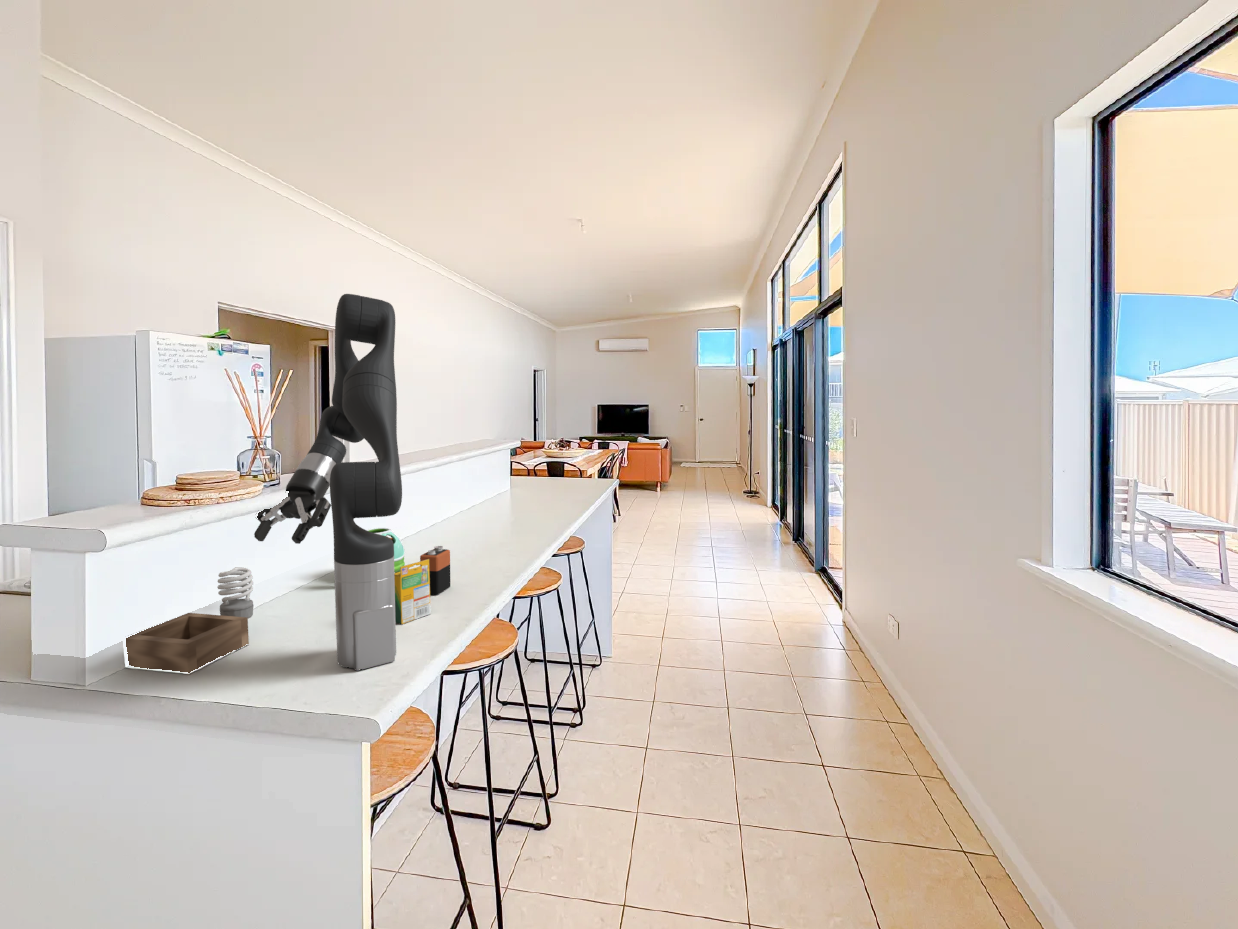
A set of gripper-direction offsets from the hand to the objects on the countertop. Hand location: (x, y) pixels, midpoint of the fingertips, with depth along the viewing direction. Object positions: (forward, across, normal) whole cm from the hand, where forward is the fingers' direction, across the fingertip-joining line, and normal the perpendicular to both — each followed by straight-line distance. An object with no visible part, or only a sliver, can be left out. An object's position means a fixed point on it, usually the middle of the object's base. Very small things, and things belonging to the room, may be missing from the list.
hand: (276, 540), depth 120 cm
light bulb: (+18, 0, +3) cm, 18 cm away
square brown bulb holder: (+26, +1, -5) cm, 27 cm away
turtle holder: (-7, +6, +28) cm, 30 cm away
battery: (-3, +25, +24) cm, 35 cm away
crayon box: (+9, +28, +12) cm, 32 cm away
